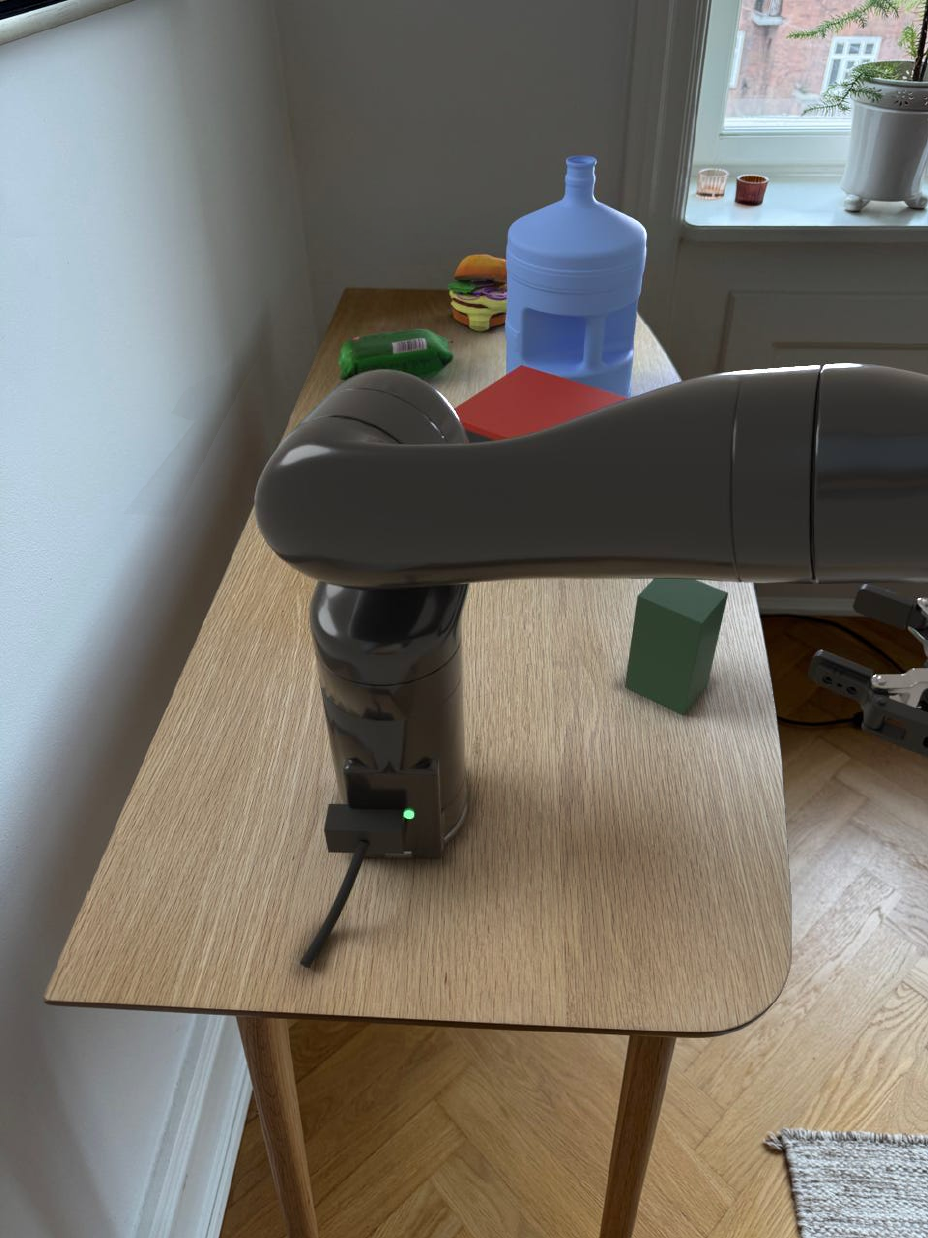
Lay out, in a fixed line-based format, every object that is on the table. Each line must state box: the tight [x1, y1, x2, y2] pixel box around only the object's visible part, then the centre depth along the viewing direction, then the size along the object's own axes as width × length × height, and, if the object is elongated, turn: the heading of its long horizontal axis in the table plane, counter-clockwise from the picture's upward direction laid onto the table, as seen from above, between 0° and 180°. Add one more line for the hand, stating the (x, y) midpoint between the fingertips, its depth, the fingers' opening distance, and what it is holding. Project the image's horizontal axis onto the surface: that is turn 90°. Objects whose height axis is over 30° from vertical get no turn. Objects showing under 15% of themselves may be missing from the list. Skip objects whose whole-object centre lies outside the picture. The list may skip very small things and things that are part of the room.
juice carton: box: [624, 579, 729, 716], centre depth 74 cm, size 4×6×10 cm
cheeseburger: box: [446, 254, 507, 332], centre depth 132 cm, size 10×11×10 cm
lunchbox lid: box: [453, 365, 628, 440], centre depth 91 cm, size 18×14×1 cm
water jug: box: [504, 155, 648, 398], centre depth 106 cm, size 16×16×28 cm
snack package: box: [337, 328, 455, 381], centre depth 119 cm, size 7×16×5 cm, turn 105°
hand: (835, 628), depth 64 cm, fingers open, 8 cm apart
